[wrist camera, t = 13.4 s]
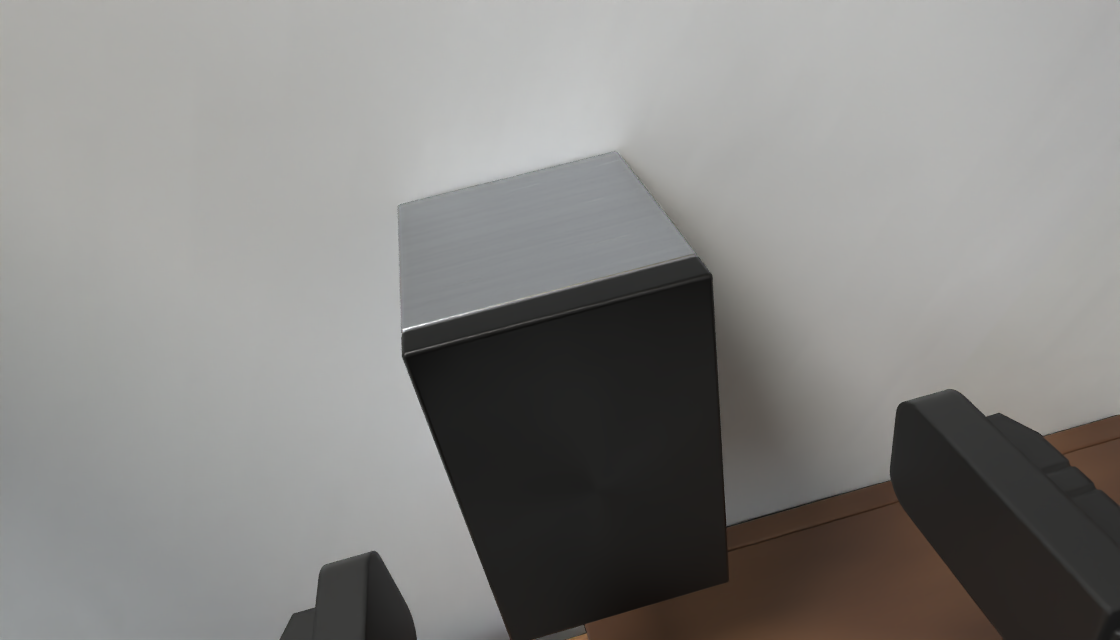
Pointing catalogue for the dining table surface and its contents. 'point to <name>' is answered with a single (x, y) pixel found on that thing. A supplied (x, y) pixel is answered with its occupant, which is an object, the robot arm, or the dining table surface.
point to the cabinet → (844, 570)
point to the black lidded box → (569, 389)
